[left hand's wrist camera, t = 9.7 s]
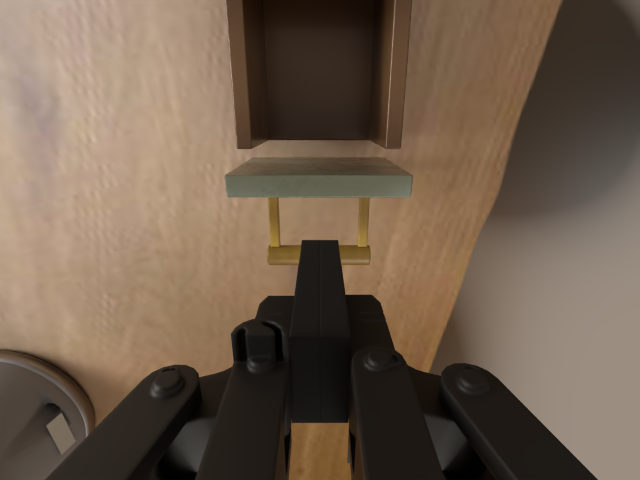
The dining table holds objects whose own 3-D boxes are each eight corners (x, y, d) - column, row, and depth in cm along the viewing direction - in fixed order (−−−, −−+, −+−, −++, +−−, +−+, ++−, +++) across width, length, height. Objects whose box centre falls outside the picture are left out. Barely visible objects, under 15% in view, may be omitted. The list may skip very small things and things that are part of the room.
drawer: (380, 242, 28) (403, 290, 21) (257, 243, 28) (234, 290, 21) (404, -139, 20) (455, -293, 13) (233, -139, 20) (180, -294, 13)
